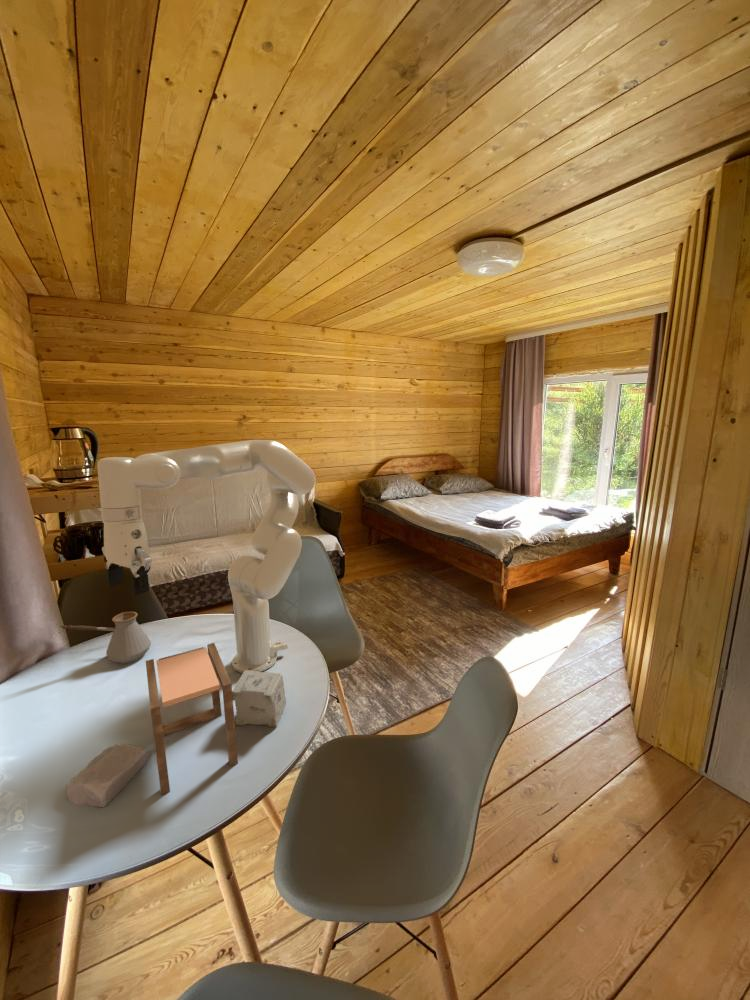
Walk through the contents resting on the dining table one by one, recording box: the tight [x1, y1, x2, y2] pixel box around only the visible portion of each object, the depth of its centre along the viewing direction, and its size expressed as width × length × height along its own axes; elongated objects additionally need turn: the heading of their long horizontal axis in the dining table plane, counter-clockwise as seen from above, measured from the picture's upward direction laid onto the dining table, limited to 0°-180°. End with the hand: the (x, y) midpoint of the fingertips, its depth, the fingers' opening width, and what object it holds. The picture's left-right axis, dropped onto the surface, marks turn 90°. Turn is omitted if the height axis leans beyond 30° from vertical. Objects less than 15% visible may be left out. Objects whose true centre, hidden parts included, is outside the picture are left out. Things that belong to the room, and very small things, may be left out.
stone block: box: [66, 743, 149, 808], centre depth 81 cm, size 12×5×10 cm
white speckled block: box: [232, 670, 287, 728], centre depth 96 cm, size 10×8×10 cm
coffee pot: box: [58, 611, 152, 664], centre depth 119 cm, size 21×12×15 cm, turn 130°
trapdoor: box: [156, 646, 221, 708], centre depth 86 cm, size 10×18×3 cm, turn 31°
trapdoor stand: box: [145, 642, 239, 796], centre depth 86 cm, size 14×18×18 cm
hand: (128, 588), depth 93 cm, fingers open, 9 cm apart
